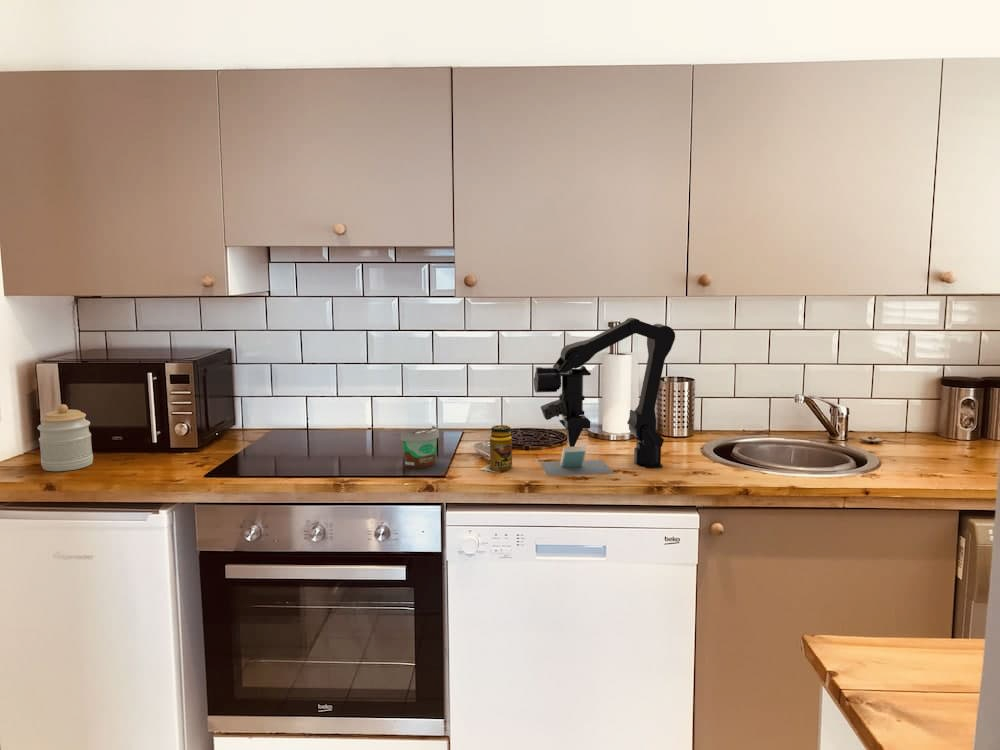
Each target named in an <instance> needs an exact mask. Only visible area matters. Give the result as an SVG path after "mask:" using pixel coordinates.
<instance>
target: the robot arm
mask: <svg viewBox="0 0 1000 750" xmlns="http://www.w3.org/2000/svg"><path fill="white" fill-rule="evenodd" d="M636 334H637V335H640V336H643V337H646V348H647V361H646V367H645V372H644V375H643V381H642V386H641V391H640V395H639V402H638V404H637V407H636V408H635V410H633V409H630V410H629V417H628V421H627V422H626V423H627V425H628V430H629V431H630V433H631V434H632V435H633V436H634V438H635V440H636V443H635V444H636V445H635V448H634V450H633V451H634V453H633V454H634V455H633V461H634V463H635V464H636V465H638V467H641V468H649V469H650V468H663V464H662V461H661V460H662V459H661V458H662V446H663V444H664V441H665V440H664V439H665V438H663V437H662V436H661V435H660V434H659V433H658V432H657V418H656V417H657V416H656V405H657V400H658V396H659V395H658V394H659V389H660V384H661V379H662V375H663V372H664V371H663V370H664V365H665V360H666V358H667V357H668V355H669V353H671V350H672V348H673V345H674V342H675V340H676V332H675V331H674V329H673V328H672V327H670V326H668V325H664V324H662V323H655V324H650V323H647V322H644V321H641V320H640V319H638V318H634V317H628V318H627V319H625V320H624V321H623V322H621V323H619V324H616V325H614V326H612V327H611V328H608V329H607V330H605V331H603V332H601V333H599V334H597V335H595V336H593V337H591V338H589V339H585V340H581V341H576V342H573V343H570V344H566V345H565V346H564V347H563V348H562V349H561V351H560V357H558V359H557V361H556V362H555V363H554V365H552V367H541V366H536V367H535V374H534V378H533V387H534V392H535V393H536V394H537V393H557V391H558V390H560V389H561V393H560V394H559V397H558V400H553V401H551V402H548V403H546V404H543V405H541V406H540V410H541V412H542V415H543V418H544V419H545V420H551V419H552V418H555V417H560V415H561V419H559V423H560V424H561V425H562V427H564V428H565V433H566V438H567V440H568V447H576V443H577V442H578V439H579V437H580V436H581V433H582V432H583V430H586V429H587V430H588V429H591V420H590V419H589V418H588V417H587V416H586V415H585V411H584V410H583V409H584V408H583V407H584V406H583V405H584V403H583V402H584V401H585V397H586V396H584V376H591V372H590V371H589V370H588V369H587V367H586V366H585V364H586V363H588V362H589V361H590V360H591V359H592V358H593V357H594V356H595V355H596V354H598V353H599V352H602V351H603V350H605V349H607V348H609V347H612V345H615V344H617V343H619V342H620V341H623V340H625V339H627V338H628V337H631V336H632V335H636Z"/></svg>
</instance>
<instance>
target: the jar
mask: <svg viewBox="0 0 1000 750" xmlns="http://www.w3.org/2000/svg"><path fill="white" fill-rule="evenodd" d="M86 416H87V414H86V413H85V412H82V411H81V410H78V409H69V407H68V406H67V404H64V403H63V404H59V405H58V406H57V410H53V411H49V412H47V413H45V414H44V415H43V416H42V417H40V418H39V420H40V421H41V424H39V425H38V426H37V430H39V432H40V433H39V434H40V437H39V438H38V441H39V448H40V450H39V451H40V464H41V468H42V469H43V471H47V472H48V471H49V472H66V471H75V470H79V469H83V468H86V467H89V466H91V465H92V464H93V463H94V461H93V460H94V454H93V449H92V448H93V447H92V433H91V432H90V429H89V426H91V421H89V420H88V419H86Z"/></svg>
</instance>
